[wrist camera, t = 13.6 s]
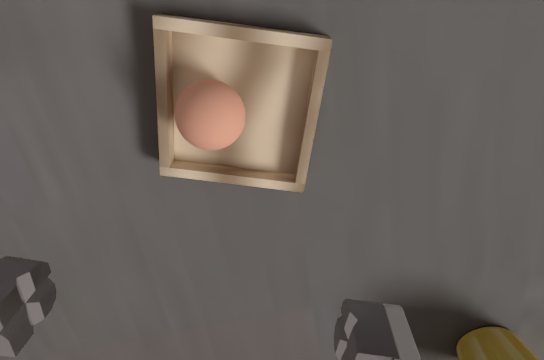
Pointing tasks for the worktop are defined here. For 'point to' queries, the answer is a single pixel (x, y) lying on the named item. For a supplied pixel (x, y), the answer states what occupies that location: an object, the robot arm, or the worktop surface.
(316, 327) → the worktop surface
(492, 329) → the plant pot
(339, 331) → the robot arm
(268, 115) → the birch tray
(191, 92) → the coral ball
